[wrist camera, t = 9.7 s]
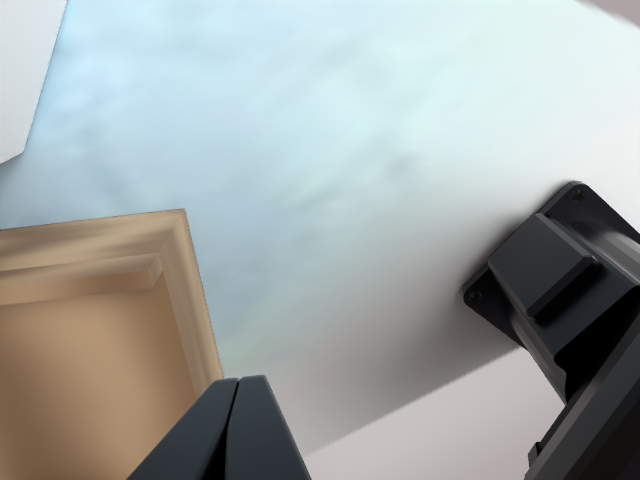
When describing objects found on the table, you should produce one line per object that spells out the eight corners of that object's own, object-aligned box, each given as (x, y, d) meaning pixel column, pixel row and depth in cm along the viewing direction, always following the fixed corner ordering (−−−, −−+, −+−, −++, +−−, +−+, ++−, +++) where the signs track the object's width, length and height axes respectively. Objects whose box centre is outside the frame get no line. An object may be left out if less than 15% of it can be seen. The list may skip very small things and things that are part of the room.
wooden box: (184, 208, 20) (147, 270, 15) (230, 410, 24) (213, 508, 19) (-148, 246, 20) (-288, 319, 15) (-46, 440, 24) (-132, 546, 19)
